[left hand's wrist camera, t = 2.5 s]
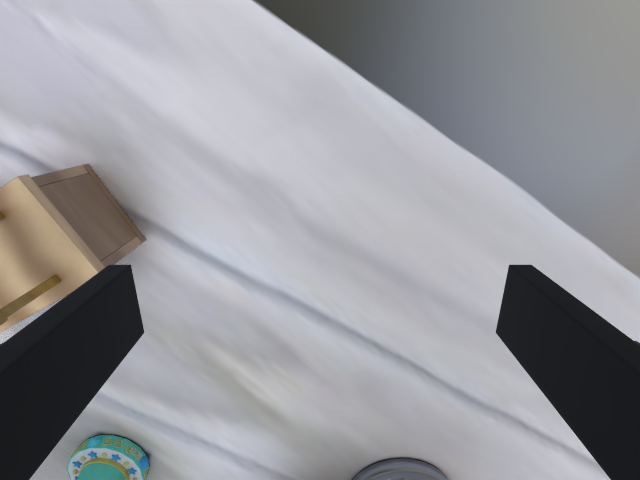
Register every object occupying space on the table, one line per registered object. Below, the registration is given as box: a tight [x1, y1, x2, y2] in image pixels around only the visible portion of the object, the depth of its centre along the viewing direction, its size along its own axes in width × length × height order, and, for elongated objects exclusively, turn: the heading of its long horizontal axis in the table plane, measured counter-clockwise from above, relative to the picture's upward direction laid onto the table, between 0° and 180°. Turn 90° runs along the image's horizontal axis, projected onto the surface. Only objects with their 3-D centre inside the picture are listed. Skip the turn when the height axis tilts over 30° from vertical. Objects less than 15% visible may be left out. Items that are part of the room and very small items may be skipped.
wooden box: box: [31, 164, 146, 267], centre depth 34 cm, size 15×9×9 cm, turn 119°
